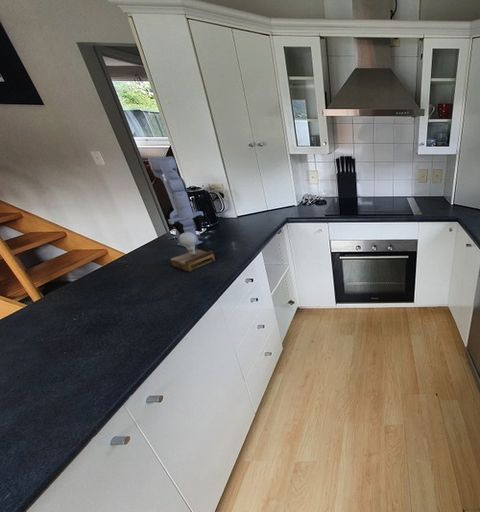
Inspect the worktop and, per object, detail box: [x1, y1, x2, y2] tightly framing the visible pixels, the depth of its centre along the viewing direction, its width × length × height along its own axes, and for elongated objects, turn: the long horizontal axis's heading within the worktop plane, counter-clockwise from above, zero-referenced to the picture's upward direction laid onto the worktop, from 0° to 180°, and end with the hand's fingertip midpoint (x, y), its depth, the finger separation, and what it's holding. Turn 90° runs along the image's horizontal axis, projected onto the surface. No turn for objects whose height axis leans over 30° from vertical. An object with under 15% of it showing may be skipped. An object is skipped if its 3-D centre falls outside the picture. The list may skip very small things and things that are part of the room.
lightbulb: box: [179, 232, 197, 255], centre depth 122 cm, size 6×6×11 cm
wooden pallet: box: [170, 248, 216, 273], centre depth 123 cm, size 12×12×5 cm
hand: (191, 234), depth 129 cm, fingers open, 7 cm apart
